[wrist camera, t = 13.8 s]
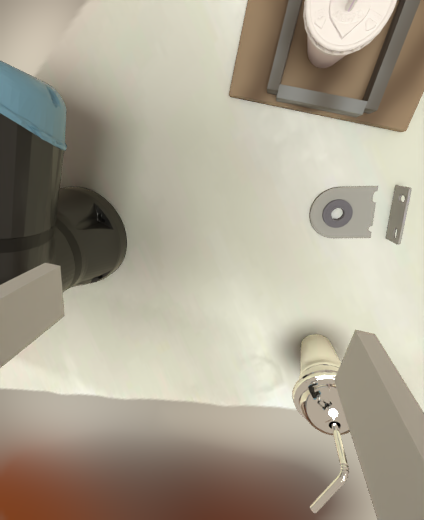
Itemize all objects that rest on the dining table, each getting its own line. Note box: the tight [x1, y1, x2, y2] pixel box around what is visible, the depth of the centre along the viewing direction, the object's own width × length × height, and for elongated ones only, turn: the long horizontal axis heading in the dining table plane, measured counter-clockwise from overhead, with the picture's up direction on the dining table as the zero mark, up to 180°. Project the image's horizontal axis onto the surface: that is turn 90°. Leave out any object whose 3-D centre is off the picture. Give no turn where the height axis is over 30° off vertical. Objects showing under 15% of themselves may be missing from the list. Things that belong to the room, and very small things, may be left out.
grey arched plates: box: [310, 186, 411, 244], centre depth 34 cm, size 7×10×4 cm, turn 93°
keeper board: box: [229, 0, 424, 132], centre depth 28 cm, size 20×12×4 cm, turn 78°
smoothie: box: [303, 0, 397, 68], centre depth 22 cm, size 6×6×14 cm
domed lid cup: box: [292, 334, 350, 513], centre depth 33 cm, size 8×9×20 cm
